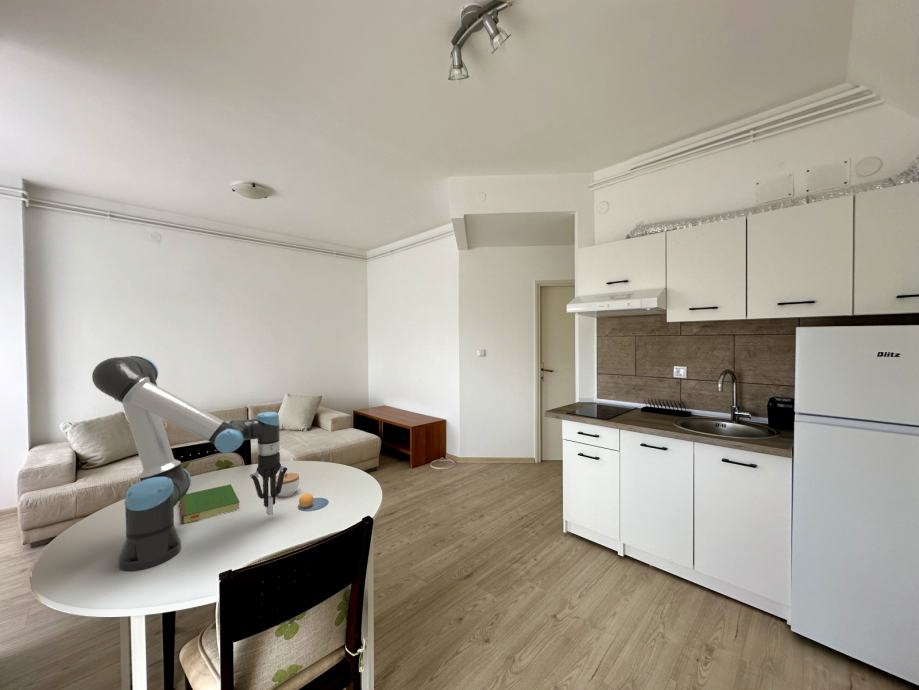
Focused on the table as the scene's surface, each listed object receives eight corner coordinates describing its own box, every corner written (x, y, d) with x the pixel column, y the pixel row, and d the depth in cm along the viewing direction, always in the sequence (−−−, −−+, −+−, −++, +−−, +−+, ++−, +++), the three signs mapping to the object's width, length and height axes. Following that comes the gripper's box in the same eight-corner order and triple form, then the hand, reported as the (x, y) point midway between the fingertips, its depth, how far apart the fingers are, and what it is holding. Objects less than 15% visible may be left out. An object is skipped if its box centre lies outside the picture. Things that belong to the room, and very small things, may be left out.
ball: (304, 512, 147) (300, 500, 146) (298, 507, 151) (295, 496, 150) (317, 504, 151) (313, 492, 150) (311, 500, 155) (308, 489, 154)
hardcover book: (179, 504, 155) (179, 495, 155) (230, 492, 167) (230, 484, 167) (182, 527, 136) (182, 517, 136) (240, 511, 148) (239, 502, 148)
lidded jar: (304, 489, 168) (303, 469, 168) (291, 499, 157) (290, 478, 157) (282, 489, 169) (281, 468, 169) (267, 499, 158) (267, 477, 158)
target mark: (304, 514, 144) (304, 513, 144) (293, 504, 153) (293, 504, 153) (333, 504, 153) (333, 503, 153) (320, 495, 161) (320, 495, 161)
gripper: (253, 459, 133) (254, 523, 133) (290, 451, 142) (290, 511, 143) (247, 454, 138) (247, 516, 139) (282, 447, 148) (283, 505, 148)
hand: (269, 513), depth 141 cm, fingers closed
